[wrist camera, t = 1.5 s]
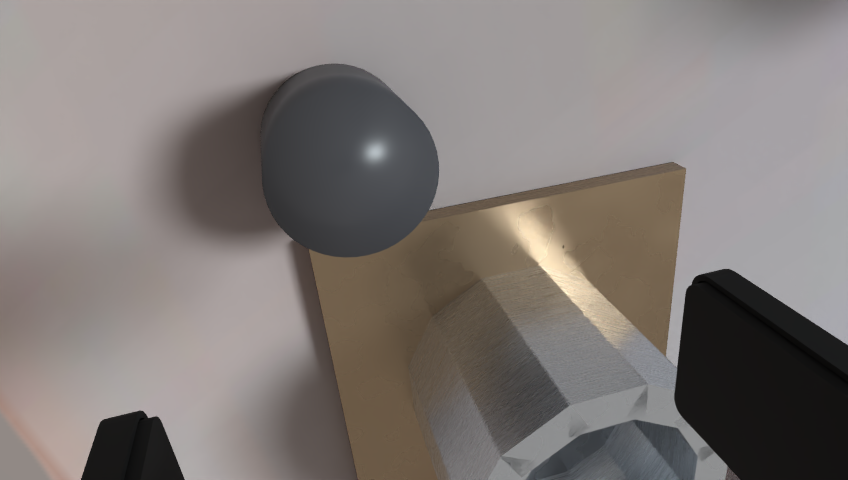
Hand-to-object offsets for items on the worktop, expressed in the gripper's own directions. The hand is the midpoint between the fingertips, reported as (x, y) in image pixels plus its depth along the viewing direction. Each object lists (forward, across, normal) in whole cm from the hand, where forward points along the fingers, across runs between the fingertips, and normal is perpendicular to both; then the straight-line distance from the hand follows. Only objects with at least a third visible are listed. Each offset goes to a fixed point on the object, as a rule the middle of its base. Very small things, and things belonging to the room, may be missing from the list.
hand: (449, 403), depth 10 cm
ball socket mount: (+16, -7, +13) cm, 22 cm away
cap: (+16, 0, 0) cm, 16 cm away
